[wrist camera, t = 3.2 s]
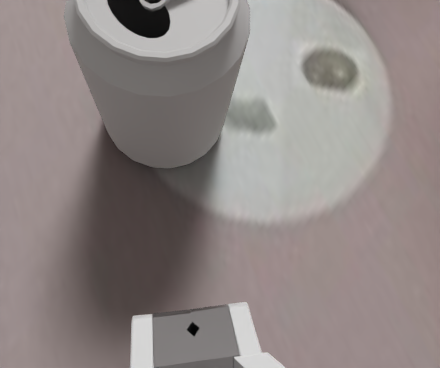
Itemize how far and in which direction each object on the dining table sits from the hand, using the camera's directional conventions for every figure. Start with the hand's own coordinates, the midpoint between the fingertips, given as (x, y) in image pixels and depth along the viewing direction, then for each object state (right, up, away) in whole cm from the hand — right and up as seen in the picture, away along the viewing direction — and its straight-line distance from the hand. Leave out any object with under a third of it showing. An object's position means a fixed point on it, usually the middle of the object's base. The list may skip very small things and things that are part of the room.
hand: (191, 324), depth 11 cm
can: (-3, +8, +16) cm, 18 cm away
